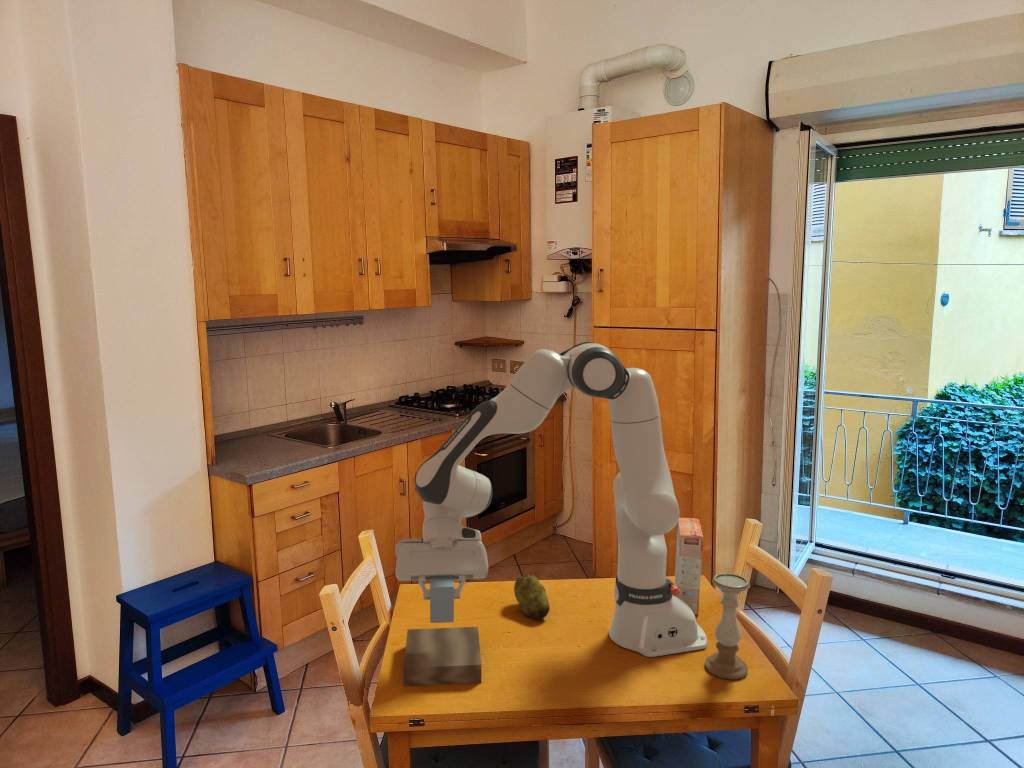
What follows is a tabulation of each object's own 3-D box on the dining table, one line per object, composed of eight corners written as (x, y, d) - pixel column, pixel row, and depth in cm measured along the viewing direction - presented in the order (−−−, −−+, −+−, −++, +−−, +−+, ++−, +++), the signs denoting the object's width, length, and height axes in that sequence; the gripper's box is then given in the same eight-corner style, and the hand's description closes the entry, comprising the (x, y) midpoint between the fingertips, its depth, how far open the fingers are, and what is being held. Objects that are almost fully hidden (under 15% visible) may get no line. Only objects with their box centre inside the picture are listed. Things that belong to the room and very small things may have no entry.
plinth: (477, 643, 160) (477, 626, 159) (481, 682, 144) (481, 664, 144) (407, 645, 158) (407, 629, 158) (403, 686, 143) (403, 668, 142)
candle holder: (743, 659, 154) (748, 572, 151) (751, 682, 145) (756, 590, 142) (702, 656, 155) (707, 570, 152) (707, 678, 146) (712, 587, 143)
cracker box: (699, 616, 173) (703, 536, 170) (675, 614, 175) (678, 534, 172) (696, 592, 187) (700, 517, 184) (673, 590, 188) (677, 516, 185)
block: (453, 611, 152) (453, 576, 151) (453, 622, 148) (453, 586, 146) (430, 611, 152) (430, 577, 151) (430, 623, 147) (430, 587, 146)
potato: (516, 623, 169) (517, 592, 168) (512, 599, 182) (513, 570, 181) (550, 622, 170) (551, 591, 169) (544, 598, 183) (544, 569, 181)
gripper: (394, 533, 153) (391, 594, 145) (487, 531, 155) (489, 591, 147) (396, 544, 158) (393, 605, 150) (486, 542, 160) (488, 602, 152)
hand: (442, 598), depth 148 cm, fingers closed on block, 5 cm apart
